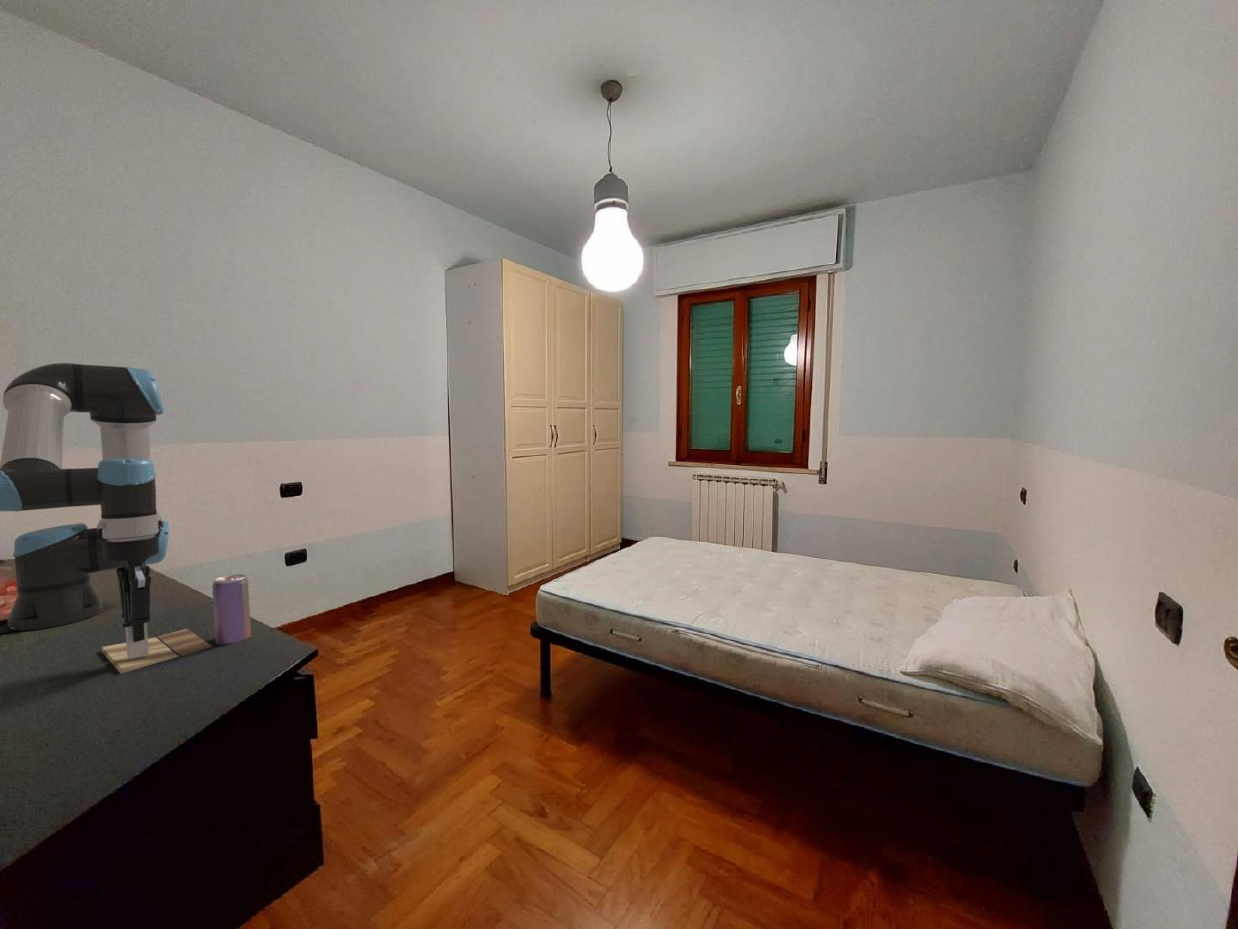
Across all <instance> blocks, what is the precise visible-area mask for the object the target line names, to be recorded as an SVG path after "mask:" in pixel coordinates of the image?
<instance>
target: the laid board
mask: <svg viewBox="0 0 1238 929" xmlns="http://www.w3.org/2000/svg"><path fill="white" fill-rule="evenodd" d="M156 638H157V639H158V640H160V641H161V642H162V643H163V644H165V645H166V646H167V647H168V648H169V649H171V650H172V651H173V652H174V653H175V654H177V655H178V656H180V657H183V656H187V655H189V654H193V653H196V652H200V651H203V650H207V649H210V648H213V646H212V645H211V644H209V643H208V642H207V641H205V640H204V639H202V638H201V637H199V636H198V635H197V634H196V633H194V632H193V631H191V630H190V629H189V628H185V629H180V630H177V631H172V632H169V633H164V634H162V635H161V634H160V635H157V637H156Z"/></svg>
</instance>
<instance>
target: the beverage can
mask: <svg viewBox="0 0 1238 929" xmlns="http://www.w3.org/2000/svg"><path fill="white" fill-rule="evenodd" d="M249 594H250V591H249V580H248V575H246V574H238V573H237V574H229V575H225V576H221V577H218V578H217V577H216V578H215V579H214V580H213V584H212V599H213V600H212V601H213V602H212V603H213V616H214V617H213V618H214V620H213V621H214V622H213V623H214V634H215V636H214V637H215V644H217V645H228V644H234V643H238V642H239V643H240V642H242V641H245V640H246V639H248V638H250V637H251V636H252V634H251V633H252V632H251V614H250V613H251V612H250V610H251V609H250V595H249Z"/></svg>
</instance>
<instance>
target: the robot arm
mask: <svg viewBox="0 0 1238 929" xmlns="http://www.w3.org/2000/svg"><path fill="white" fill-rule="evenodd" d="M156 378H157V377H156V376H155V374H154V373H153V372H152V371H151V370H148V369H143V368H136V367H127V366H115V365H113V366H111V365H95V364H83V363H82V364H79V363H72V362H69V363H68V362H58V363H51V364H50V363H49V364H45V365H42V366H38V367H34V368H32V369H30V370H27V371H26V372H24V373H21V374H20V375H18V376H17V377H15V378H14V379H13V380H12V381H11V382H10V383H9V384H8V385H7V387H5V390H4V392H3V396H2V404H3V407H4V408H5V409H6V411H8V414H7V421H6V425H5V426H6V427H5V431H4V436H3V437H4V439H3V445H2V450H1V456H0V512H15V513H16V512H21V511H22V512H23V511H25V512H26V511H35V510H47V509H61V508H70V507H72V508H73V507H87V506H100V513H101V514H100V519H99V520H98V524H97V525H96V527H92V528H88V526H87V525H86V523H81V522H80V523H73V524H72V523H71V524H64V525H58V526H57V525H56V526H52V527H47V528H42V529H37V530H33V531H29V532H26V533H23V534H21V535H19V536H18V537H16V539H15V540H14V542H13V543H14V544H13V545H14V546H13V547H14V548H13V550H14V551H13V552H14V553H13V554H12V557H14V562H15V563H14V564H15V574H16V575H15V576H16V577H15V579H16V588H17V596H16V598H15V601H14V603H13V606H12V608H11V611H10V613H9V615H8V618H7V627H8V626H10V627H13V628H15V629H16V630H20V632H23V631H33V630H42V629H47V628H48V629H49V628H54V627H58V626H64V625H67V624H71V623H76V622H79V621H83V620H86V619H89V618H92V617H94V616H97V615H99V614H100V613H101V612H103V603H102V600H101V598H100V597H99V595H98V593H97V591H96V590H95V589H94V587H93V586H92V584H91V574H93V573H94V574H95V573H101V572H107V571H113V570H114V571H115V574H116V576H117V579H118V581H117V582H118V588H119V590H118V591H119V596H120V598H119V599H120V605H121V606H120V607H121V618H122V619H123V621H124V623H122V628H123V629H125V639H126V642H125V643H126V644H127V657H128V658H129V659H132V658H136V657H139V656H143V655H146V654H149V650H148V638H149V634H148V622H150V620H151V615H150V612H151V611H150V610H151V607H150V606H151V605H150V604H151V601H150V598H151V596H150V595H151V592H150V591H151V582H152V577H151V575H150V573H151V571H150V566H149V565H153V564H158V563H160V562H162V561H163V560H164V559H165V557H166V555H167V551H168V547H169V546H168V545H169V544H168V543H169V532H170V524H169V521H165V520H162V516H161V515H160V514H159V513H158V510H157V491H156V490H157V489H156V476H157V473H156V470H155V466H154V465H155V464H154V463H155V462H153V460H151V449H150V446H151V445H150V443H151V442H150V429H149V428H150V426H151V425H154V424H155V423H156V422H157V416H160V415H163V414H164V413H165V412H164V406H163V402H162V397H161V393H160V389H159V388H160V387H159V385H158V382H157V379H156ZM69 413H88V414H89V417H90V418H89V419H90V421H91V422H93V423H94V424H96V425H98V427H100V428H99V430H100V431H99V432H100V442H101V443H100V444H101V455H102V459H101V460H100V461H99V462H98V464H97V467H89V468H88V467H84V468H62V467H63V466H62V465H63V451H64V450H63V449H64V447H63V444H64V429H65V428H64V426H65V425H64V424H65V423H64V422H65V417H66V416H67V415H68V414H69Z"/></svg>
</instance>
